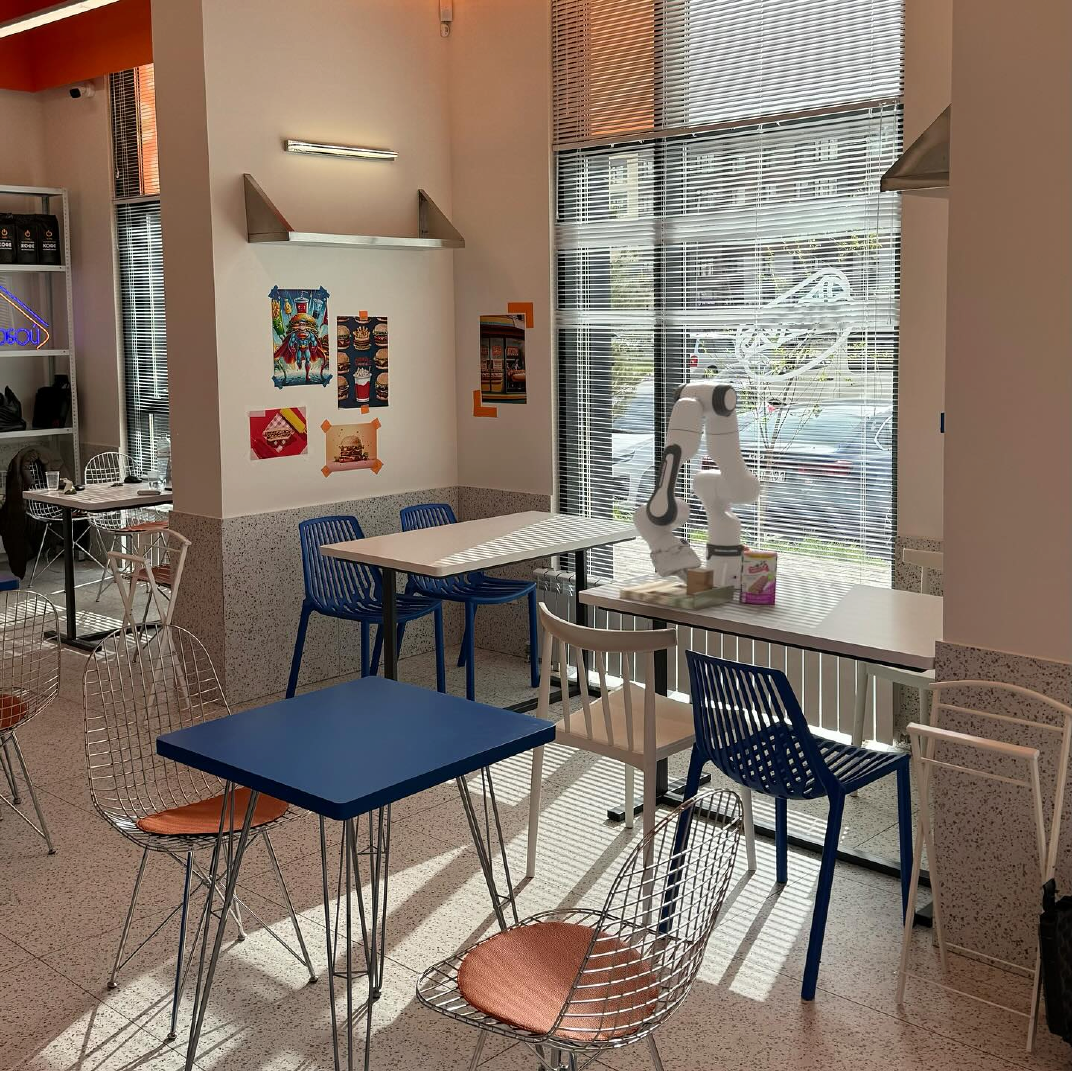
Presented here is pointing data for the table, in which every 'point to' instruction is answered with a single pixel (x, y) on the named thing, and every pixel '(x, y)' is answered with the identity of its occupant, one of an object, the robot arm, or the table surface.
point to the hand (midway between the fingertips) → (690, 582)
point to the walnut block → (699, 580)
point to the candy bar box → (758, 577)
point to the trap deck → (678, 595)
